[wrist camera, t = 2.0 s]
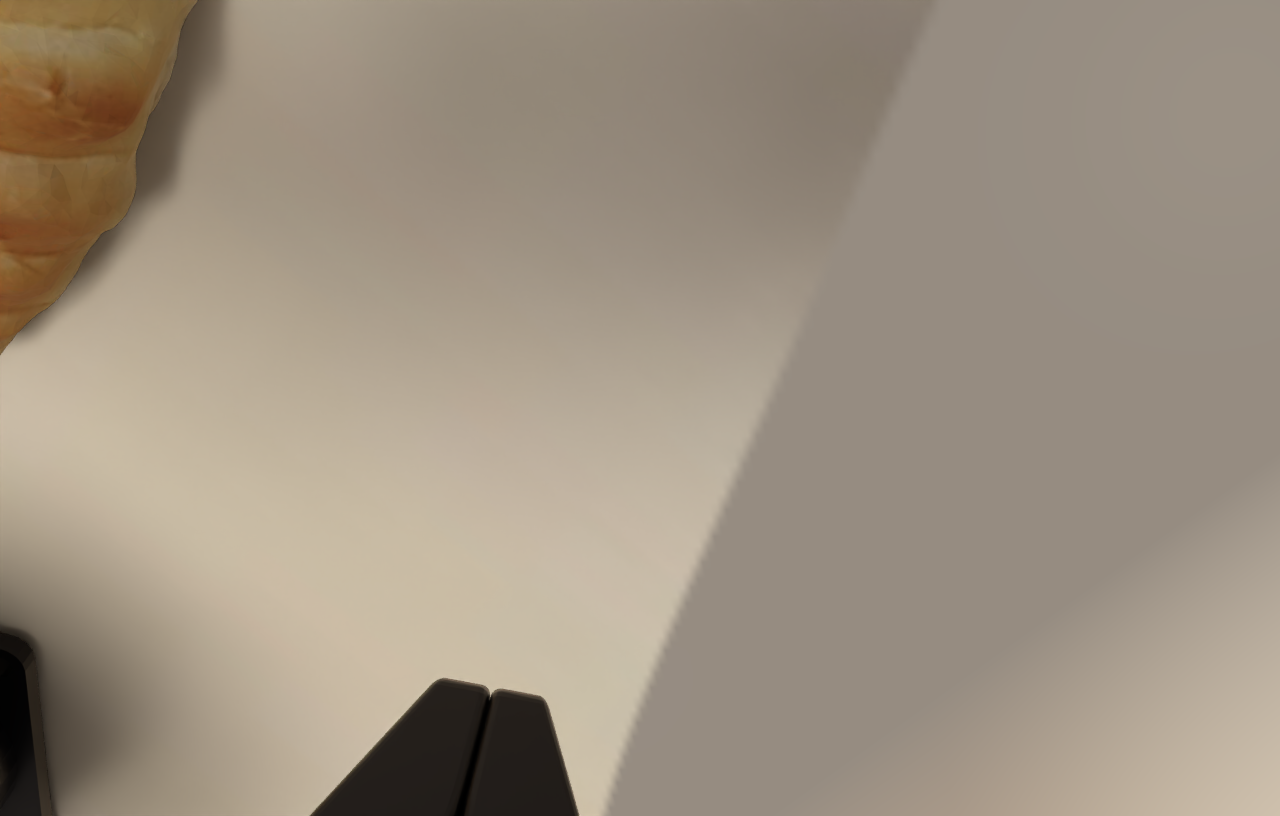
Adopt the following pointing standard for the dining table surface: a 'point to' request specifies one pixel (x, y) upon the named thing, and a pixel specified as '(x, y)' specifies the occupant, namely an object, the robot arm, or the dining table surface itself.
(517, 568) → the dining table surface
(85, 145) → the pastry
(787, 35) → the dining table surface
